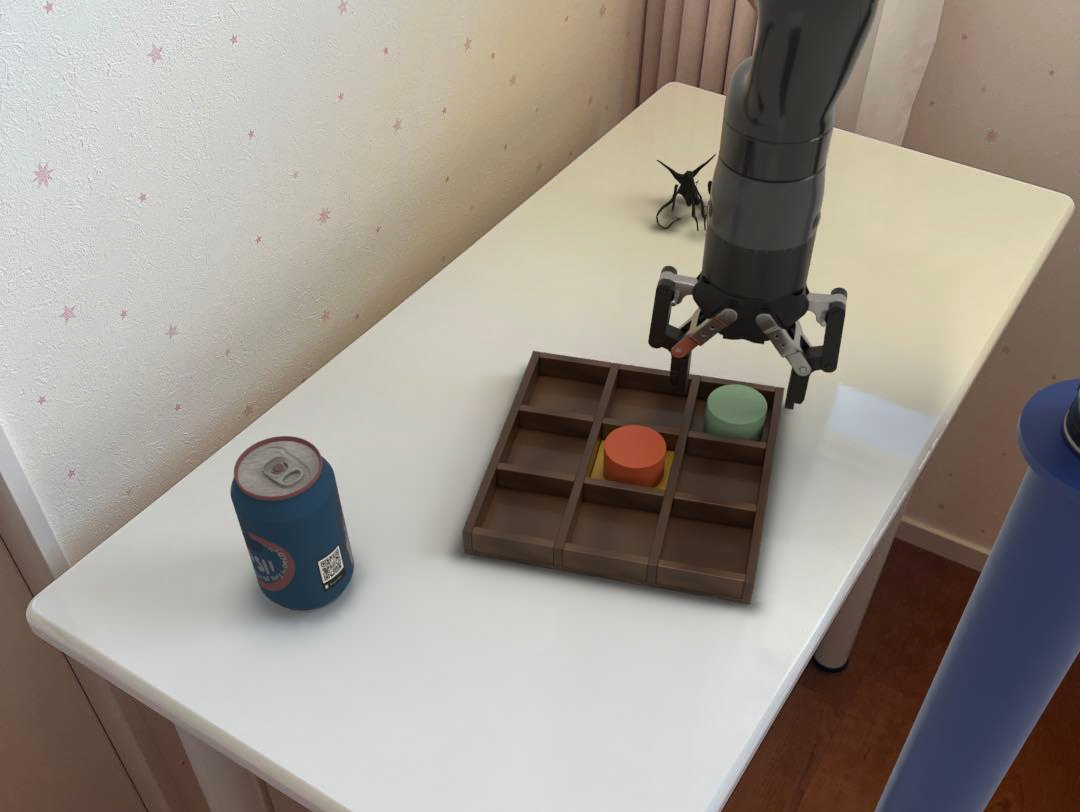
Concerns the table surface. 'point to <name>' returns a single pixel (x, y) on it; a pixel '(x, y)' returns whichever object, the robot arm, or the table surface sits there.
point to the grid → (619, 508)
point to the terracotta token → (634, 456)
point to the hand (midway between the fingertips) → (735, 394)
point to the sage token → (736, 412)
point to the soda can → (292, 522)
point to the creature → (687, 192)
